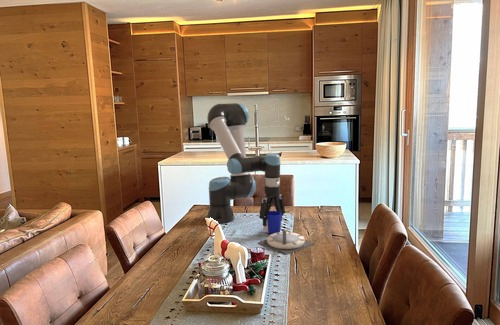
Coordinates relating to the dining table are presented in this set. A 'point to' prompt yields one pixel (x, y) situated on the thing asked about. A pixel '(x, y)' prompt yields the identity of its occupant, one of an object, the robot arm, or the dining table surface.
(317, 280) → the dining table surface
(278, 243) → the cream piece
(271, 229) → the mug
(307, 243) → the bearing plate
